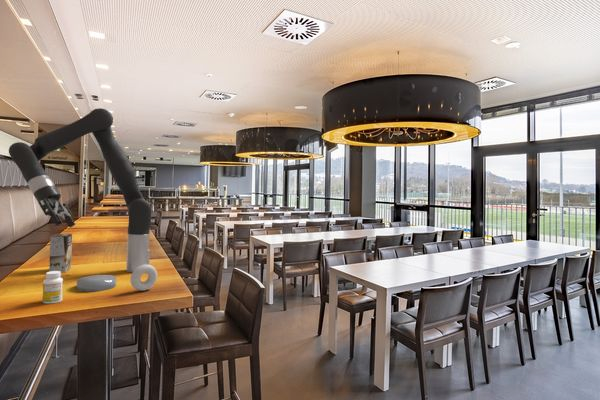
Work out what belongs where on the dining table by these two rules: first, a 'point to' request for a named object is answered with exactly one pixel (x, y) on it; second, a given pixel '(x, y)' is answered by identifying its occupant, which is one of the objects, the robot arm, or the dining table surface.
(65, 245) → the coffee box
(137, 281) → the donut
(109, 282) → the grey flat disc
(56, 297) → the supplement bottle
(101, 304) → the dining table surface
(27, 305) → the dining table surface
